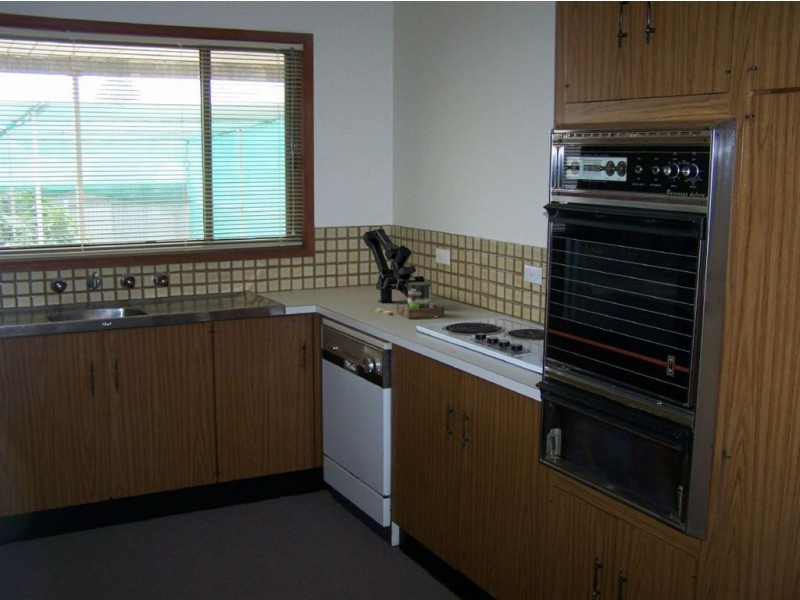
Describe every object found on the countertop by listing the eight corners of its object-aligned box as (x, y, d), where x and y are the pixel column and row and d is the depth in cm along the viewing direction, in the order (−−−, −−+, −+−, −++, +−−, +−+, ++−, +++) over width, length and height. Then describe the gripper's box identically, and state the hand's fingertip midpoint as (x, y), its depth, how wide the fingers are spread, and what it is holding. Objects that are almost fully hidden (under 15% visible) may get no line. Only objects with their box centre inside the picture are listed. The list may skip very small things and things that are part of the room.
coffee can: (423, 317, 400) (423, 285, 397) (403, 315, 405) (403, 283, 403) (434, 314, 408) (435, 282, 406) (414, 312, 414) (414, 281, 411)
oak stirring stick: (373, 311, 417) (373, 308, 417) (377, 311, 418) (376, 307, 418) (389, 316, 406) (389, 312, 405) (392, 315, 407) (392, 312, 406)
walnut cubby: (396, 313, 410) (396, 304, 409) (430, 311, 416) (430, 302, 415) (409, 319, 396) (409, 310, 395) (444, 316, 402) (444, 307, 401)
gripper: (385, 260, 415) (394, 288, 407) (423, 258, 422) (432, 285, 414) (379, 274, 424) (387, 302, 416) (416, 272, 430) (425, 300, 422)
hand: (408, 297), depth 417 cm, fingers closed
